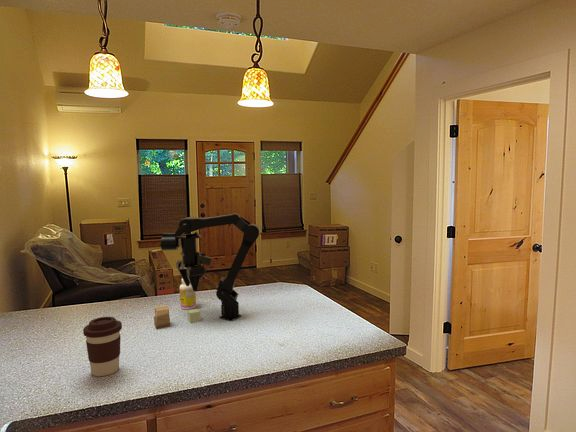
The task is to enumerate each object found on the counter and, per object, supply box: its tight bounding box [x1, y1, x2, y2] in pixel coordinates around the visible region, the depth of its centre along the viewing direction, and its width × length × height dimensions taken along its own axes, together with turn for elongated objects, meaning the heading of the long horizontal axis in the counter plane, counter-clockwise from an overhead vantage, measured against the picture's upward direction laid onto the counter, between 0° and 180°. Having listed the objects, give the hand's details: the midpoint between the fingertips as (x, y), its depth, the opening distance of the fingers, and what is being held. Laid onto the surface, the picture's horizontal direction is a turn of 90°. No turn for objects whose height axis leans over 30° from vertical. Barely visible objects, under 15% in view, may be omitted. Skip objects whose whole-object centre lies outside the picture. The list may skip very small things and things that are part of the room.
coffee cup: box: [82, 316, 123, 377], centre depth 110 cm, size 10×10×15 cm
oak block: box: [154, 304, 170, 320], centre depth 145 cm, size 4×4×4 cm
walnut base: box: [153, 315, 171, 330], centre depth 146 cm, size 5×5×4 cm
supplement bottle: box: [179, 277, 197, 311], centre depth 166 cm, size 7×7×13 cm
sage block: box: [186, 308, 201, 324], centre depth 150 cm, size 4×4×4 cm
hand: (191, 288), depth 152 cm, fingers open, 9 cm apart
